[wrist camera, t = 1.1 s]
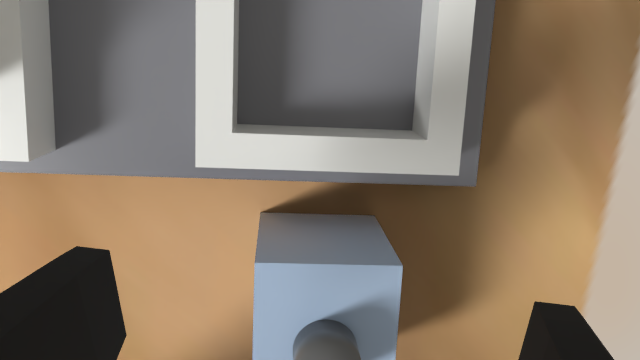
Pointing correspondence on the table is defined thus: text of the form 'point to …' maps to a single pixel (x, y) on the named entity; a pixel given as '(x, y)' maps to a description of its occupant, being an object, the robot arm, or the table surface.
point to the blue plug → (325, 288)
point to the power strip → (246, 89)
